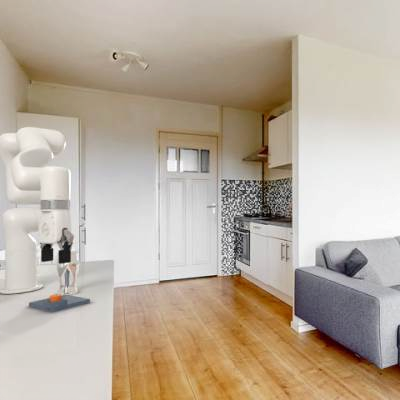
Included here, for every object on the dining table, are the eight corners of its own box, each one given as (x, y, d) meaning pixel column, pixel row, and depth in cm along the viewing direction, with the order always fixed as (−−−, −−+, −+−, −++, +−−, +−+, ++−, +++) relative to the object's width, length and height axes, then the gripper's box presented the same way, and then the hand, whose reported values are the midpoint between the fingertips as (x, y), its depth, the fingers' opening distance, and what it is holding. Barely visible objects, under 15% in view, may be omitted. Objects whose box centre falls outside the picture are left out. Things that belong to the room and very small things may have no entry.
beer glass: (70, 295, 122) (70, 253, 122) (51, 295, 122) (51, 253, 122) (83, 290, 129) (83, 251, 129) (65, 290, 129) (65, 251, 129)
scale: (25, 307, 108) (25, 298, 108) (65, 298, 118) (65, 289, 118) (50, 313, 101) (50, 303, 101) (90, 303, 112) (90, 294, 112)
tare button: (47, 301, 105) (47, 296, 105) (58, 299, 107) (58, 293, 107) (53, 303, 103) (52, 297, 103) (63, 300, 106) (63, 294, 106)
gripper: (27, 207, 106) (27, 262, 106) (58, 206, 98) (58, 265, 98) (53, 207, 113) (53, 259, 113) (84, 205, 105) (84, 261, 105)
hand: (55, 262), depth 105 cm, fingers open, 9 cm apart
